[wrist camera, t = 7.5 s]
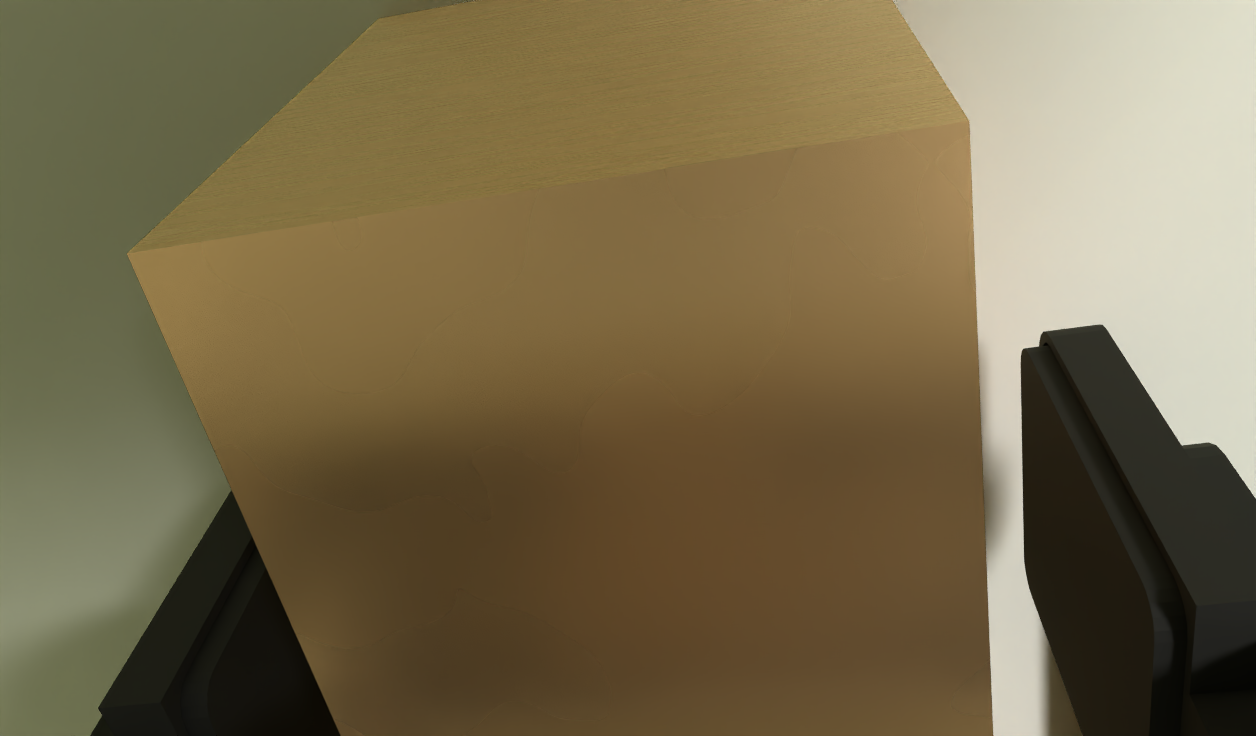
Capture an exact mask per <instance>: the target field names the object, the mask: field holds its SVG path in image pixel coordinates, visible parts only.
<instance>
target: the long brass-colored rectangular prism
mask: <svg viewBox="0 0 1256 736" xmlns="http://www.w3.org/2000/svg"><path fill="white" fill-rule="evenodd" d="M127 255H128V258H129V260H130V262H131V264H132V267H133V269H134V271H135V273H136V276H137V278H138V280H139V282H140V285H141V287H142V289H143V291H144V294H145V296H146V298H147V301H148V303H149V305H150V307H151V310H152V312H153V314H154V316H155V319H156V321H157V323H158V325H159V328H160V330H161V332H162V334H163V337H164V339H165V341H166V343H167V346H168V348H169V350H170V352H171V355H172V357H173V359H174V361H175V364H176V366H177V368H178V370H179V373H180V375H181V377H182V379H183V382H184V384H185V386H186V388H187V391H188V393H189V395H190V397H191V400H192V402H193V404H194V406H195V409H196V411H197V413H198V415H199V418H200V420H201V422H202V424H203V427H204V429H205V431H206V433H207V436H208V438H209V440H210V442H211V445H212V447H213V449H214V451H215V454H216V456H217V458H218V460H219V463H220V465H221V467H222V469H223V472H224V474H225V476H226V478H227V481H228V483H229V485H230V487H231V490H232V492H233V494H234V496H235V499H236V501H237V503H238V505H239V508H240V510H241V512H242V514H243V517H244V519H245V521H246V523H247V526H248V528H249V530H250V532H251V535H252V537H253V539H254V541H255V544H256V546H257V548H258V550H259V553H260V555H261V557H262V559H263V562H264V564H265V566H266V568H267V571H268V573H269V575H270V578H271V580H272V582H273V584H274V587H275V589H276V591H277V593H278V596H279V598H280V600H281V602H282V605H283V607H284V609H285V611H286V614H287V616H288V618H289V620H290V623H291V625H292V627H293V629H294V632H295V634H296V636H297V638H298V641H299V643H300V645H301V647H302V650H303V652H304V654H305V656H306V659H307V661H308V663H309V665H310V668H311V670H312V672H313V674H314V677H315V679H316V681H317V683H318V686H319V688H320V690H321V692H322V695H323V697H324V699H325V701H326V704H327V706H328V708H329V710H330V713H331V715H332V717H333V719H334V722H335V724H336V726H337V728H338V731H339V733H340V735H341V736H993V721H992V695H991V669H990V644H989V618H988V592H987V566H986V541H985V515H984V489H983V463H982V437H981V412H980V386H979V360H978V334H977V309H976V283H975V257H974V231H973V206H972V180H971V154H970V128H969V120H968V118H967V117H966V115H965V113H964V112H963V110H962V109H961V107H960V106H959V104H958V103H957V101H956V99H955V98H954V96H953V95H952V93H951V92H950V90H949V88H948V87H947V85H946V84H945V82H944V81H943V79H942V78H941V76H940V74H939V73H938V71H937V70H936V68H935V67H934V65H933V63H932V62H931V60H930V59H929V57H928V56H927V54H926V52H925V51H924V49H923V48H922V46H921V45H920V43H919V42H918V40H917V38H916V37H915V35H914V34H913V32H912V31H911V29H910V27H909V26H908V24H907V23H906V21H905V20H904V18H903V17H902V15H901V13H900V12H899V10H898V9H897V7H896V6H895V4H894V2H893V1H892V0H476V1H471V2H465V3H460V4H455V5H449V6H444V7H438V8H433V9H427V10H422V11H417V12H411V13H406V14H400V15H395V16H389V17H384V18H379V19H378V20H376V21H375V22H374V23H373V24H372V25H371V26H370V27H369V28H368V29H367V30H366V31H365V32H364V33H363V34H361V35H360V36H359V37H358V38H357V39H356V40H355V41H354V42H353V43H352V44H351V45H350V46H349V47H348V48H346V49H345V50H344V51H343V52H342V53H341V54H340V55H339V56H338V57H337V58H336V59H335V60H334V61H333V62H331V63H330V64H329V65H328V66H327V67H326V68H325V69H324V70H323V71H322V72H321V73H320V74H319V75H318V76H316V77H315V78H314V79H313V80H312V81H311V82H310V83H309V84H308V85H307V86H306V87H305V88H304V89H303V90H301V91H300V92H299V93H298V94H297V95H296V96H295V97H294V98H293V99H292V100H291V101H290V102H289V103H288V104H286V105H285V106H284V107H283V108H282V109H281V110H280V111H279V112H278V113H277V114H276V115H275V116H274V117H273V118H271V119H270V120H269V121H268V122H267V123H266V124H265V125H264V126H263V127H262V128H261V129H260V130H259V131H258V132H256V133H255V134H254V135H253V136H252V137H251V138H250V139H249V140H248V141H247V142H246V143H245V144H244V145H243V146H241V147H240V148H239V149H238V150H237V151H236V152H235V153H234V154H233V155H232V156H231V157H230V158H229V159H228V160H226V161H225V162H224V163H223V164H222V165H221V166H220V167H219V168H218V169H217V170H216V171H215V172H214V173H213V174H211V175H210V176H209V177H208V178H207V179H206V180H205V181H204V182H203V183H202V184H201V185H200V186H199V187H198V188H196V189H195V190H194V191H193V192H192V193H191V194H190V195H189V196H188V197H187V198H186V199H185V200H184V201H183V202H181V203H180V204H179V205H178V206H177V207H176V208H175V209H174V210H173V211H172V212H171V213H170V214H169V215H168V216H166V217H165V218H164V219H163V220H162V221H161V222H160V223H159V224H158V225H157V226H156V227H155V228H154V229H153V230H151V231H150V232H149V233H148V234H147V235H146V236H145V237H144V238H143V239H142V240H141V241H140V242H139V243H138V244H136V245H135V246H134V247H133V248H132V249H131V250H130V251H129V252H128V253H127Z"/></svg>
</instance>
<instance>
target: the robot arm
mask: <svg viewBox="0 0 1256 736" xmlns="http://www.w3.org/2000/svg"><path fill="white" fill-rule="evenodd" d="M1021 406H1022V464H1023V522H1024V562H1025V570H1026V575H1027V580H1028V585H1029V589H1030V592H1031V595H1032V598H1033V600H1034V603H1035V606H1036V609H1037V611H1038V614H1039V617H1040V619H1041V622H1042V625H1043V628H1044V630H1045V633H1046V636H1047V639H1048V641H1049V644H1050V647H1051V650H1052V652H1053V655H1054V658H1055V660H1056V663H1057V666H1058V669H1059V671H1060V674H1061V677H1062V680H1063V682H1064V685H1065V688H1066V691H1067V693H1068V696H1069V699H1070V701H1071V704H1072V707H1073V710H1074V712H1075V715H1076V718H1077V721H1078V723H1079V726H1080V729H1081V732H1082V734H1083V736H1256V499H1255V497H1254V496H1253V494H1252V493H1251V491H1250V490H1249V489H1248V487H1247V486H1246V484H1245V483H1244V481H1243V480H1242V479H1241V477H1240V476H1239V474H1238V473H1237V471H1236V470H1235V468H1234V467H1233V466H1232V464H1231V463H1230V461H1229V460H1228V458H1227V457H1226V456H1225V454H1224V453H1223V452H1222V451H1221V450H1220V449H1219V448H1218V447H1217V446H1216V445H1214V444H1211V443H1201V444H1192V445H1183V446H1181V444H1180V443H1179V441H1178V439H1177V438H1176V436H1175V435H1174V433H1173V432H1172V430H1171V429H1170V427H1169V426H1168V424H1167V422H1166V421H1165V419H1164V418H1163V416H1162V415H1161V413H1160V412H1159V410H1158V408H1157V407H1156V405H1155V404H1154V402H1153V401H1152V399H1151V398H1150V396H1149V394H1148V393H1147V391H1146V390H1145V388H1144V387H1143V385H1142V384H1141V382H1140V380H1139V379H1138V377H1137V376H1136V374H1135V373H1134V371H1133V370H1132V368H1131V367H1130V365H1129V363H1128V362H1127V360H1126V359H1125V357H1124V356H1123V354H1122V353H1121V351H1120V349H1119V348H1118V346H1117V345H1116V343H1115V342H1114V340H1113V339H1112V337H1111V335H1110V334H1109V332H1108V331H1107V329H1106V328H1105V327H1104V326H1103V325H1092V326H1084V327H1077V328H1069V329H1061V330H1053V331H1046V332H1043V333H1042V335H1041V337H1040V343H1039V347H1033V348H1025V349H1023V350H1022V354H1021ZM98 709H99V711H100V712H101V714H102V717H101V719H100V720H99V722H98V724H97V725H96V727H95V729H94V730H93V732H92V734H91V735H90V736H341V735H340V733H339V731H338V728H337V726H336V724H335V722H334V719H333V717H332V715H331V713H330V710H329V708H328V706H327V704H326V701H325V699H324V697H323V695H322V692H321V690H320V688H319V686H318V683H317V681H316V679H315V677H314V674H313V672H312V670H311V668H310V665H309V663H308V661H307V659H306V656H305V654H304V652H303V650H302V647H301V645H300V643H299V641H298V638H297V636H296V634H295V632H294V629H293V627H292V625H291V623H290V620H289V618H288V616H287V614H286V611H285V609H284V607H283V605H282V602H281V600H280V598H279V596H278V593H277V591H276V589H275V587H274V584H273V582H272V580H271V578H270V575H269V573H268V571H267V568H266V566H265V564H264V562H263V559H262V557H261V555H260V553H259V550H258V548H257V546H256V544H255V541H254V539H253V537H252V535H251V532H250V530H249V528H248V526H247V523H246V521H245V519H244V517H243V514H242V512H241V510H240V508H239V505H238V503H237V501H236V499H235V496H234V494H233V492H232V490H231V492H230V493H229V495H228V497H227V498H226V500H225V502H224V503H223V505H222V507H221V508H220V510H219V511H218V513H217V515H216V516H215V518H214V520H213V521H212V523H211V524H210V526H209V528H208V529H207V531H206V533H205V534H204V536H203V538H202V539H201V541H200V542H199V544H198V546H197V547H196V549H195V551H194V552H193V554H192V556H191V557H190V559H189V560H188V562H187V564H186V565H185V567H184V569H183V570H182V572H181V573H180V575H179V577H178V578H177V580H176V582H175V583H174V585H173V587H172V588H171V590H170V591H169V593H168V595H167V596H166V598H165V600H164V601H163V603H162V605H161V606H160V608H159V609H158V611H157V613H156V614H155V616H154V618H153V619H152V621H151V622H150V624H149V626H148V627H147V629H146V631H145V632H144V634H143V636H142V637H141V639H140V640H139V642H138V644H137V645H136V647H135V649H134V650H133V652H132V654H131V655H130V657H129V658H128V660H127V662H126V663H125V665H124V667H123V668H122V670H121V671H120V673H119V675H118V676H117V678H116V680H115V681H114V683H113V685H112V686H111V688H110V689H109V691H108V693H107V694H106V696H105V698H104V699H103V701H102V703H101V704H100V706H99V707H98Z"/></svg>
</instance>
